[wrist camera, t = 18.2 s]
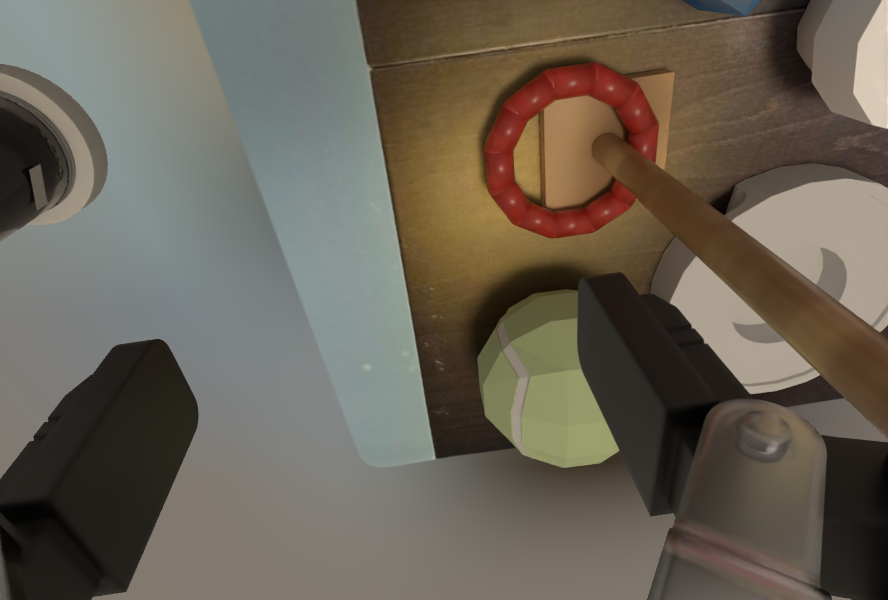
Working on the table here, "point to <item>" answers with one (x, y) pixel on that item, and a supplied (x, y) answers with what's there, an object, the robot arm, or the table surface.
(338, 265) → the table surface
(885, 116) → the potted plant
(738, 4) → the perfume bottle
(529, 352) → the tennis ball
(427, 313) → the table surface
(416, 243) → the table surface
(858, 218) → the grey plate
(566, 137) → the peg stand
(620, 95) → the ring
